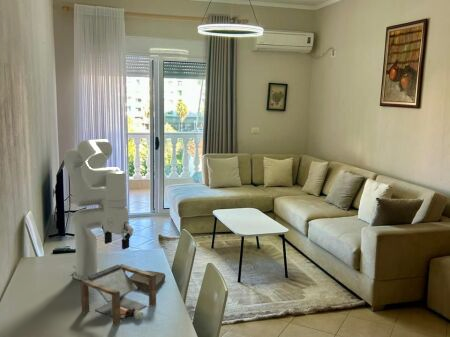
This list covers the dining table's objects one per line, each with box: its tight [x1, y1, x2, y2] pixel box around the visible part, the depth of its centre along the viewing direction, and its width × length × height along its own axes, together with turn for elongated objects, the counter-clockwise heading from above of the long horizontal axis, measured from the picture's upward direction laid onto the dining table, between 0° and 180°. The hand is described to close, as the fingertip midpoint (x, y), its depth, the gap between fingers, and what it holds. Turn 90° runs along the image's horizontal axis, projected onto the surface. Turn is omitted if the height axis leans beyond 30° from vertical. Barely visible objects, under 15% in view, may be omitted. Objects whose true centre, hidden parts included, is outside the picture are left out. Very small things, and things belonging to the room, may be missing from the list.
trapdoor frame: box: [80, 264, 157, 327], centre depth 169 cm, size 20×21×13 cm
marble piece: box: [128, 270, 166, 294], centre depth 192 cm, size 17×15×4 cm
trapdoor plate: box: [88, 264, 137, 304], centre depth 171 cm, size 13×15×1 cm
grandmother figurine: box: [111, 307, 144, 321], centre depth 162 cm, size 8×4×13 cm
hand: (116, 245), depth 167 cm, fingers open, 9 cm apart
